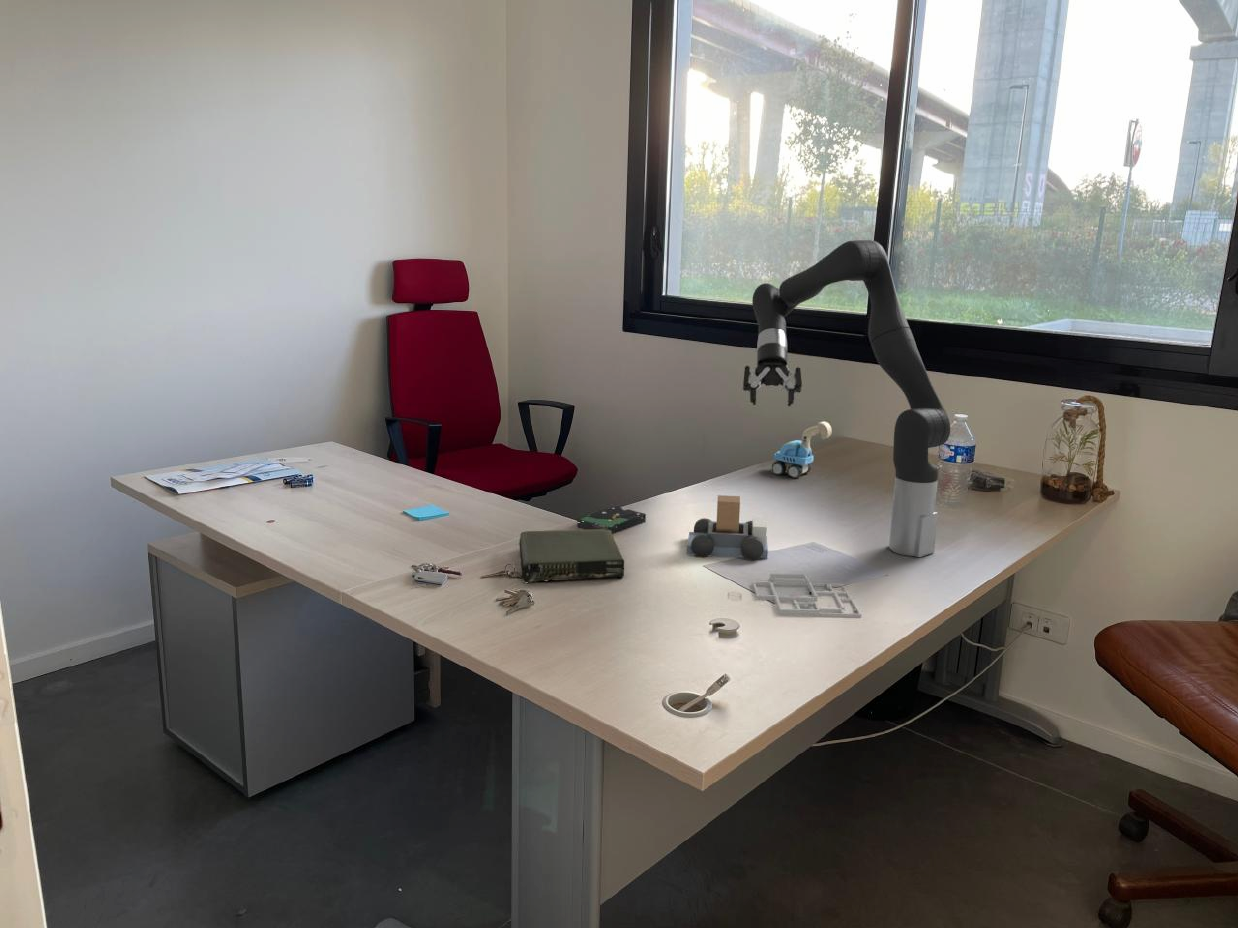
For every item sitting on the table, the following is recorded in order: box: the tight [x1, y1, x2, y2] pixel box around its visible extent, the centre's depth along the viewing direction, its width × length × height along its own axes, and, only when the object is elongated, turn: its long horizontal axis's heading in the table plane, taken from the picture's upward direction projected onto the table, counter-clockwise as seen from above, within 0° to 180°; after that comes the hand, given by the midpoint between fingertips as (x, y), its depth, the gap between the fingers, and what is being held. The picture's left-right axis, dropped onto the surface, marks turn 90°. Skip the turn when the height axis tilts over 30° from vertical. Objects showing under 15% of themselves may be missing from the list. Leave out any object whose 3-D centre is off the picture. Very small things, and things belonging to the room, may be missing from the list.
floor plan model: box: [751, 572, 862, 618], centre depth 185 cm, size 19×25×2 cm
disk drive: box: [576, 505, 647, 535], centre depth 228 cm, size 10×3×15 cm
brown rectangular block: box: [716, 494, 741, 534], centre depth 210 cm, size 5×5×10 cm
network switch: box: [518, 529, 625, 583], centre depth 201 cm, size 23×24×5 cm
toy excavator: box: [771, 421, 833, 479], centre depth 275 cm, size 9×17×17 cm, turn 53°
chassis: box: [686, 515, 769, 561], centre depth 211 cm, size 18×13×7 cm
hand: (772, 403), depth 225 cm, fingers open, 8 cm apart
